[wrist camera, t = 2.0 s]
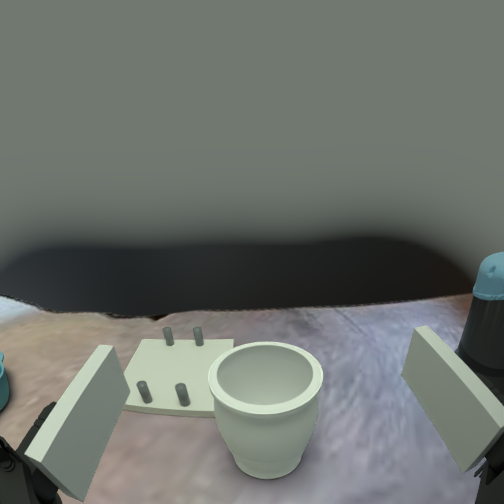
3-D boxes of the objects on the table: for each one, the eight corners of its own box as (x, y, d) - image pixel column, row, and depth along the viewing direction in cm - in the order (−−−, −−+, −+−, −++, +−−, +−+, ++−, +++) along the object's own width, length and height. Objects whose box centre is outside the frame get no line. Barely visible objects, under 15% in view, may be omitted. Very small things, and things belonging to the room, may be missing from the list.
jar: (324, 441, 28) (340, 356, 24) (281, 500, 20) (286, 432, 16) (256, 415, 34) (250, 330, 30) (208, 460, 27) (182, 379, 22)
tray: (234, 345, 52) (232, 323, 51) (229, 417, 34) (225, 394, 33) (144, 345, 52) (138, 324, 51) (111, 407, 34) (100, 385, 33)
